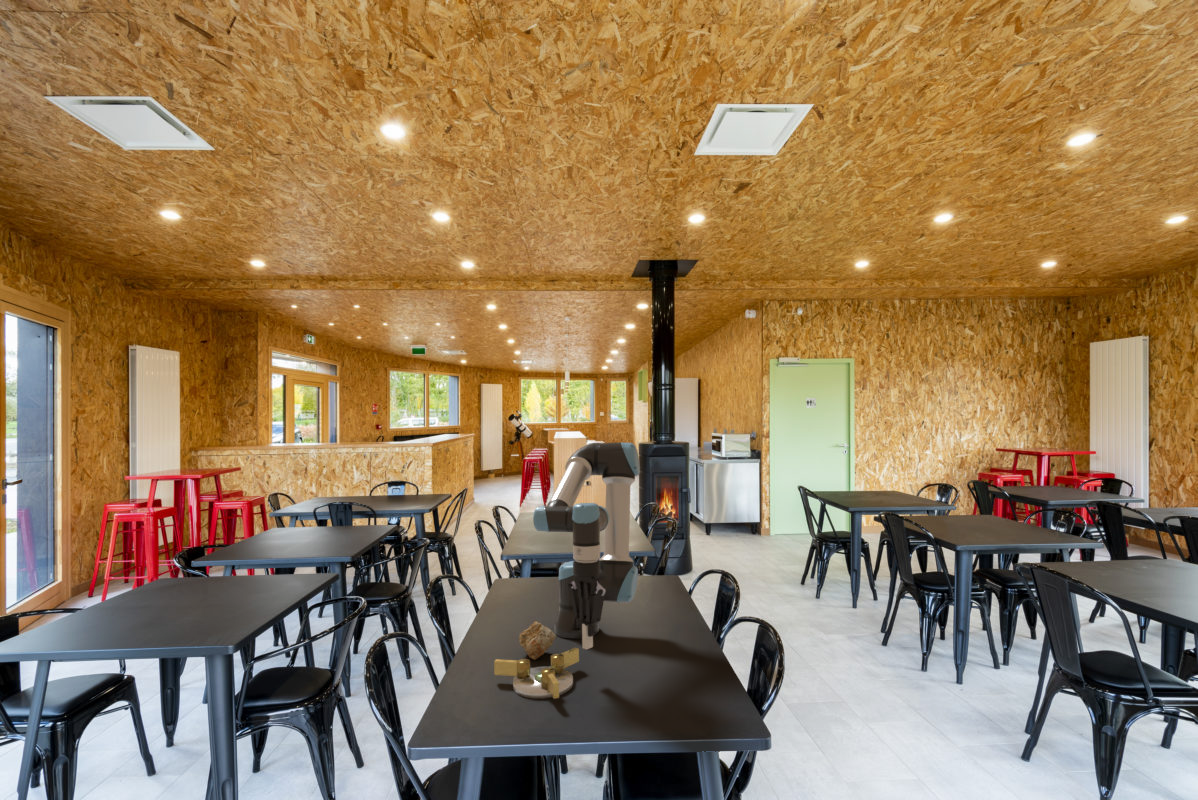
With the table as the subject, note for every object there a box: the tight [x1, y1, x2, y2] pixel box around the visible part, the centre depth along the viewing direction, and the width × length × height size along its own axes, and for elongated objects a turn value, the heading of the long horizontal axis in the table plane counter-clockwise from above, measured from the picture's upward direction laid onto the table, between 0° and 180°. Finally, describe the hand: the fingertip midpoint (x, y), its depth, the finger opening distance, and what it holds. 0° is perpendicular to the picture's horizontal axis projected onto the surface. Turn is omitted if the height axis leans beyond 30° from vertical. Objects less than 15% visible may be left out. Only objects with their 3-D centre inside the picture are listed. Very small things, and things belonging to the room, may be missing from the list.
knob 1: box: [493, 658, 531, 679], centre depth 156 cm, size 10×4×4 cm, turn 80°
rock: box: [518, 621, 557, 661], centre depth 174 cm, size 12×10×10 cm
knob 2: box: [541, 668, 560, 700], centre depth 146 cm, size 10×4×4 cm, turn 20°
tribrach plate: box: [512, 665, 574, 700], centre depth 154 cm, size 16×16×3 cm
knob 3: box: [550, 647, 580, 674], centre depth 161 cm, size 10×4×4 cm, turn 140°
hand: (587, 647), depth 158 cm, fingers closed
